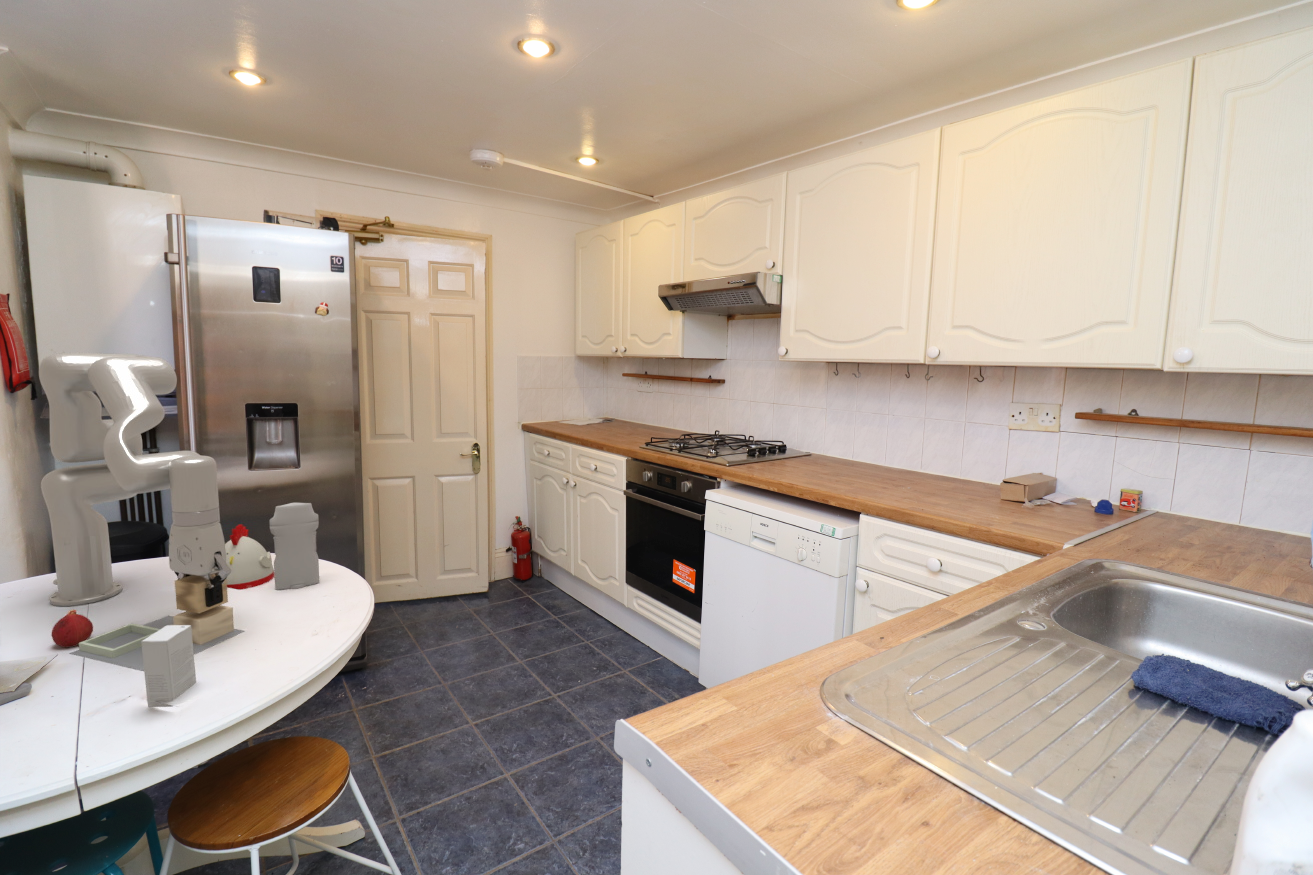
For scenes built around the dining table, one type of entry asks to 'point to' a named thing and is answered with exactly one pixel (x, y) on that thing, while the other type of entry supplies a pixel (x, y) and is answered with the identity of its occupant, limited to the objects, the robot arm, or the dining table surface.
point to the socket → (94, 648)
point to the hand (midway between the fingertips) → (202, 601)
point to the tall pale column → (295, 546)
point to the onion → (72, 629)
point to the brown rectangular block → (207, 623)
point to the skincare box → (168, 664)
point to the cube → (195, 594)
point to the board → (136, 656)
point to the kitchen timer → (247, 561)
